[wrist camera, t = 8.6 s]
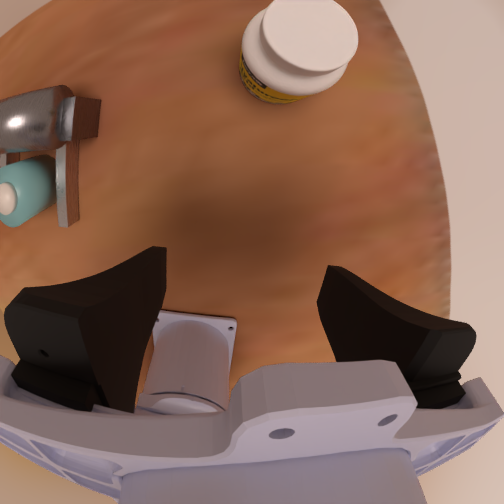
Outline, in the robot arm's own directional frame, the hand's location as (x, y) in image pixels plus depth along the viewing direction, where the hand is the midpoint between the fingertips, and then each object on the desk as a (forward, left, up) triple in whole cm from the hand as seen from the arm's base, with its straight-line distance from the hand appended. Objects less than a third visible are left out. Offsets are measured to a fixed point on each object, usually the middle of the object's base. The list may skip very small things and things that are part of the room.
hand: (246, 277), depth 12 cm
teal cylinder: (+1, +18, -10) cm, 20 cm away
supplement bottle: (+11, -1, -10) cm, 15 cm away
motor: (+3, +18, -10) cm, 21 cm away
